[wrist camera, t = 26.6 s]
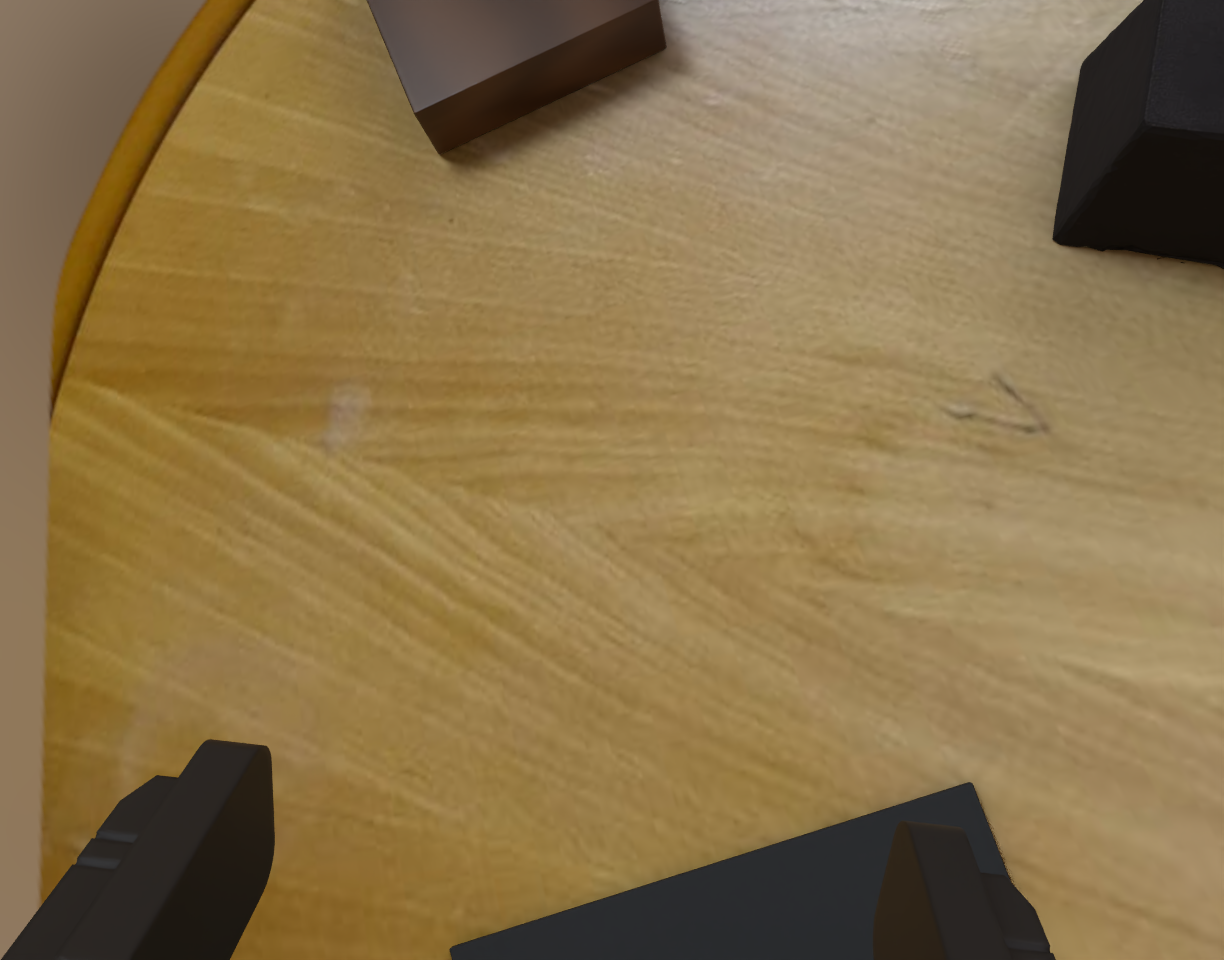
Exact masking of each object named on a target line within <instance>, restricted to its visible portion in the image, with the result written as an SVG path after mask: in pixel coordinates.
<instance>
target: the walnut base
mask: <svg viewBox="0 0 1224 960" xmlns="http://www.w3.org/2000/svg"><path fill="white" fill-rule="evenodd" d="M367 2H368V4H369V7H370V9H371V12H372V14H373V16H374V19H375V21H376V24H377V26H378V28H379V31H380V33H381V35H382V38H383V40H384V43H385V45H386V47H387V50H388V52H389V55H390V57H391V59H392V62H393V64H394V67H395V69H396V71H397V74H398V76H399V79H400V81H401V83H402V86H403V88H404V91H405V93H406V95H407V98H408V100H409V103H410V105H411V107H412V110H413V112H414V114H415V116H416V118H417V119H418V121H419V123H420V124H421V126H422V127H423V129H424V131H425V132H426V134H427V136H428V137H429V139H430V141H431V142H432V144H433V146H434V147H435V149H436V151H437V152H438V154H442V153H444V152H446V151H448V150H451V149H453V148H455V147H457V146H459V145H461V144H463V143H465V142H468V141H470V140H472V139H474V138H476V137H478V136H480V135H482V134H485V133H487V132H489V131H491V130H493V129H495V128H497V127H499V126H502V125H504V124H506V123H508V122H510V121H512V120H514V119H517V118H519V117H521V116H523V115H525V114H527V113H529V112H531V111H534V110H536V109H538V108H540V107H542V106H544V105H546V104H548V103H551V102H553V101H555V100H557V99H559V98H561V97H563V96H565V95H568V94H570V93H572V92H574V91H576V90H578V89H580V88H583V87H585V86H587V85H589V84H591V83H593V82H595V81H597V80H600V79H602V78H604V77H606V76H608V75H610V74H612V73H614V72H617V71H619V70H621V69H623V68H625V67H627V66H629V65H631V64H634V63H636V62H638V61H640V60H642V59H644V58H646V57H649V56H651V55H653V54H655V53H657V52H659V51H661V50H663V49H666V42H665V36H664V30H663V24H662V18H661V12H660V6H659V0H367Z"/></svg>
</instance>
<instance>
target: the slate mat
mask: <svg viewBox="0 0 1224 960" xmlns="http://www.w3.org/2000/svg"><path fill="white" fill-rule="evenodd" d="M901 821H911V822H919V823H928V824H937V825H945V826H954V827H960V828H962V829H963V830H964V831H965V833H966V835H967V837H968V840H969V843H970V845H971V848H972V851H973V854H974V856H975V859H976V862H977V865H978V867H979V870H980V872H981V873H990V874H998V875H1005V876H1006V877H1007V878H1008V879H1009V880H1010V878H1009V876H1008V873H1007V871H1006V868H1005V865H1004V863H1003V860H1002V858H1001V855H1000V853H999V850H998V848H997V845H996V842H995V840H994V837H993V835H992V832H991V830H990V827H989V825H988V822H987V819H986V817H985V814H984V812H983V809H982V807H981V804H980V802H979V799H978V797H977V794H976V791H975V789H974V786H973V784H972V783H970V782H968V783H965V784H962V785H959V786H956V787H952V788H949V789H946V790H943V791H940V792H937V793H934V794H930V795H927V796H924V797H921V798H918V799H915V800H912V801H908V802H905V803H902V804H899V805H896V806H893V807H890V808H886V809H883V810H880V811H877V812H874V813H871V814H867V815H864V816H861V817H858V818H855V819H852V820H849V821H845V822H842V823H839V824H836V825H833V826H830V827H827V828H823V829H820V830H817V831H814V832H811V833H808V834H805V835H801V836H798V837H795V838H792V839H789V840H786V841H782V842H779V843H776V844H773V845H770V846H767V847H764V848H760V849H757V850H754V851H751V852H748V853H745V854H742V855H738V856H735V857H732V858H729V859H726V860H723V861H720V862H716V863H713V864H710V865H707V866H704V867H701V868H698V869H694V870H691V871H688V872H685V873H682V874H679V875H675V876H672V877H669V878H666V879H663V880H660V881H657V882H653V883H650V884H647V885H644V886H641V887H638V888H635V889H631V890H628V891H625V892H622V893H619V894H616V895H613V896H609V897H606V898H603V899H600V900H597V901H594V902H590V903H587V904H584V905H581V906H578V907H575V908H572V909H568V910H565V911H562V912H559V913H556V914H553V915H550V916H546V917H543V918H540V919H537V920H534V921H531V922H528V923H524V924H521V925H518V926H515V927H512V928H509V929H506V930H502V931H499V932H496V933H493V934H490V935H487V936H483V937H480V938H477V939H474V940H471V941H468V942H465V943H461V944H458V945H455V946H453V947H451V948H450V953H451V957H452V960H874V957H873V925H874V917H875V911H876V907H877V903H878V899H879V895H880V891H881V886H882V882H883V878H884V874H885V870H886V866H887V862H888V858H889V854H890V850H891V846H892V841H893V837H894V834H895V830H896V828H897V825H898V824H899V822H901ZM1010 882H1011V881H1010Z"/></svg>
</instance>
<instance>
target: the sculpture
mask: <svg viewBox="0 0 1224 960" xmlns="http://www.w3.org/2000/svg"><path fill="white" fill-rule="evenodd" d="M1053 240H1054V241H1056V242H1057V243H1059V244H1061V245H1068V246H1075V247H1083V246H1087V247H1090V248H1093V249H1097V250H1100V251H1105V250H1129V251H1134V252H1140V253H1146V254H1152V255H1158V256H1164V258H1165V257H1170V258H1176V259H1182V260H1188V261H1194V262H1201V263H1207V264H1213V265H1217V266H1219V267H1221V268H1223V269H1224V0H1144V1H1143V2H1142V3H1141V4H1140V5H1139V6H1137V7H1136V8H1135V9H1134V10H1133V11H1132V12H1131V13H1130V14H1129V15H1128V16H1127V17H1126V19H1125V20H1124V21H1123V22H1122V23H1121V24H1120V25H1119V26H1118V27H1117V28H1116V29H1114V30H1113V31H1112V32H1111V33H1110V34H1109V35H1108V36H1107V38H1106V39H1105V40H1104V41H1103V42H1102V43H1101V44H1100V45H1099V46H1098V47H1097V48H1096V49H1095V50H1094V51H1093V52H1092V53H1091V54H1090V55H1089V56H1088V57H1087V58H1086V59H1085V60H1084V62H1083V63H1082V66H1081V69H1080V75H1079V82H1078V88H1077V93H1076V98H1075V104H1074V109H1073V116H1072V123H1071V128H1070V133H1069V138H1068V144H1067V150H1066V156H1065V163H1064V169H1063V175H1062V181H1061V187H1060V193H1059V198H1058V204H1057V209H1056V216H1055V224H1054V232H1053ZM1158 259H1161V258H1158ZM1181 263H1183V262H1181Z"/></svg>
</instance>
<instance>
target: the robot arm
mask: <svg viewBox="0 0 1224 960" xmlns="http://www.w3.org/2000/svg"><path fill="white" fill-rule="evenodd" d="M274 846H275V832H274V808H273V784H272V761H271V754H270V750H269V748H268V747H267V746H264V745H255V744H246V743H238V742H229V741H220V740H211V739H210V740H207V741H205V742H204V743H203V744H202V745H201V746H200V747H199V749H198V750H197V752H196V753H195V755H194V756H193V757H192V759H191V760H190V762H189V763H188V765H187V766H186V767H185V769H184V770H183V772H182V773H181V775H180V776H179V778H176V777H168V776H159V775H157V776H155V777H154V778H152V779H151V780H149V781H148V782H147V783H145V784H144V785H142V786H141V787H139V788H138V789H136V790H135V791H134V792H132V793H131V794H129V795H128V796H126V797H125V798H123V799H122V800H120V802H119V803H118V804H117V806H116V807H115V808H114V810H113V811H112V812H111V814H110V815H109V816H108V818H107V819H106V820H105V822H104V823H103V824H102V826H101V827H100V828H99V830H98V831H97V835H96V838H95V839H94V838H92V839H91V840H90V842H89V843H88V844H87V846H86V847H85V848H84V850H83V851H82V852H81V854H80V855H79V856H78V858H77V863H76V864H75V865H72V866H71V867H70V868H69V870H68V871H67V872H66V874H65V875H64V876H63V878H62V879H61V880H60V882H59V883H58V884H57V886H56V887H55V888H54V890H53V891H52V892H51V894H50V895H49V896H48V898H47V899H46V900H45V902H44V903H43V904H42V906H41V907H40V908H39V910H38V911H37V912H36V914H35V915H34V916H33V918H32V919H31V920H30V922H29V923H28V924H27V926H26V927H25V928H24V930H23V931H22V932H21V934H20V935H19V936H18V938H17V939H16V940H15V942H14V943H13V944H12V946H11V947H10V948H9V950H8V951H7V952H6V954H5V955H4V956H3V958H2V959H1V960H230V958H231V956H232V954H233V952H234V950H235V948H236V946H237V944H238V942H239V940H240V938H241V936H242V934H243V932H244V930H245V928H246V926H247V924H248V922H249V920H250V918H251V916H252V914H253V912H254V910H255V908H256V906H257V904H258V902H259V900H260V898H261V896H262V894H263V891H264V889H265V887H266V884H267V881H268V878H269V874H270V871H271V866H272V861H273V856H274ZM873 957H874V960H1056V959H1055V957H1054V954H1053V953H1050V945H1049V942H1048V940H1047V937H1046V935H1045V933H1044V930H1043V928H1042V925H1041V923H1040V920H1039V918H1038V915H1037V913H1036V911H1035V909H1034V908H1033V906H1032V905H1031V904H1030V903H1029V902H1028V901H1027V900H1026V899H1025V897H1024V896H1023V895H1022V894H1021V893H1020V892H1019V891H1018V890H1017V888H1016V887H1015V886H1014V885H1013V884H1012V883H1011V882H1010V880H1009V879H1008V878H1007V877H1006V876H1005V875H998V874H990V873H981V872H980V870H979V867H978V865H977V862H976V859H975V856H974V854H973V851H972V848H971V845H970V843H969V840H968V837H967V835H966V833H965V831H964V830H963V829H962V828H960V827H954V826H945V825H937V824H928V823H919V822H911V821H901V822H899V824H898V825H897V828H896V830H895V834H894V837H893V841H892V846H891V850H890V854H889V858H888V862H887V866H886V870H885V874H884V878H883V882H882V886H881V891H880V895H879V899H878V903H877V907H876V911H875V917H874V925H873Z"/></svg>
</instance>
